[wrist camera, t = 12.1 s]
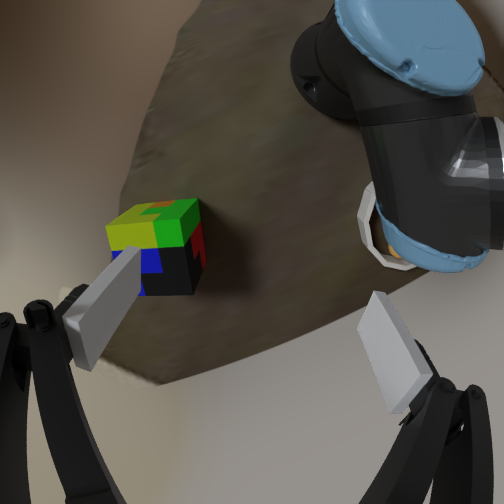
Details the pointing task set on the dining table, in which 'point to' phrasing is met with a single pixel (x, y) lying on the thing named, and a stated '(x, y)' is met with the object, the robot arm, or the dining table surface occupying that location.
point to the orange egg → (393, 252)
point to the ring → (365, 232)
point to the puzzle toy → (163, 245)
